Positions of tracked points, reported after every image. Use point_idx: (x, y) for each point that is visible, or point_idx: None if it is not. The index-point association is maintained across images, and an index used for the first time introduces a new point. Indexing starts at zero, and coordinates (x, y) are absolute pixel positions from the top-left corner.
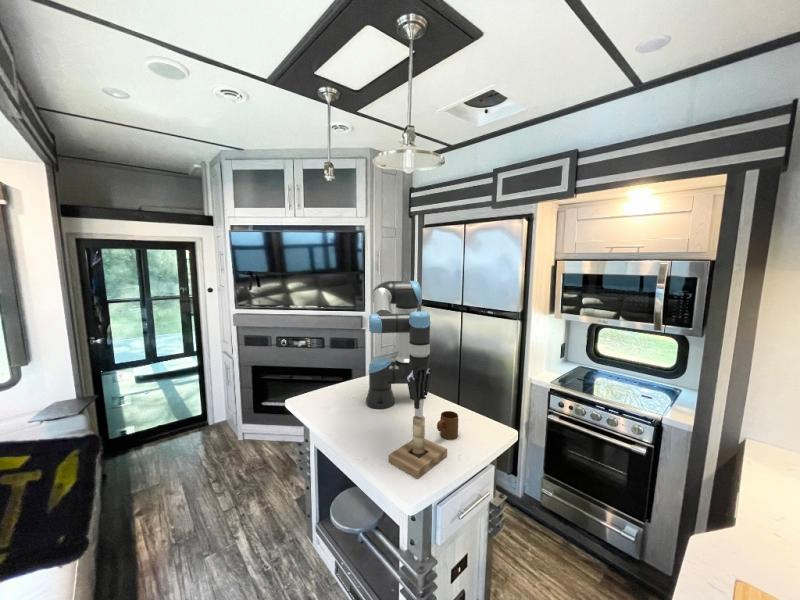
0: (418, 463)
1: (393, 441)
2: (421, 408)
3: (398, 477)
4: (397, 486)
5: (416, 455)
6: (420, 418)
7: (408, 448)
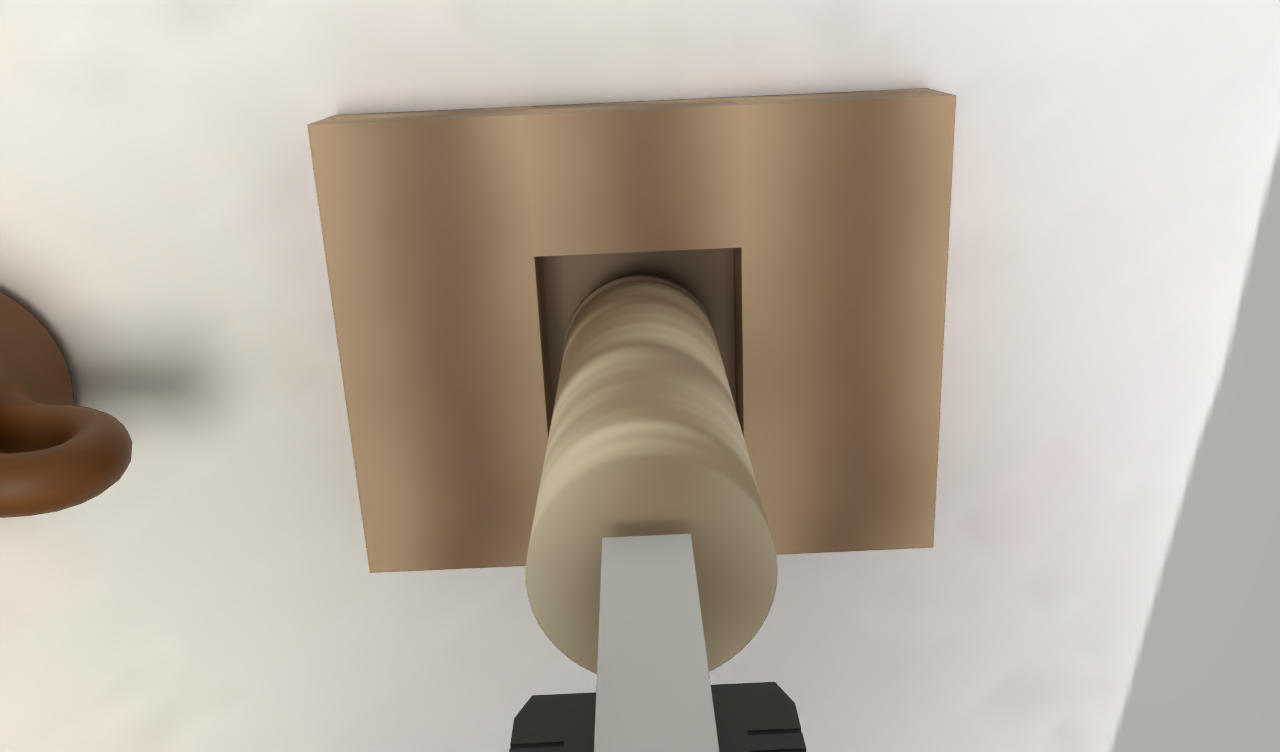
0: (832, 190)
1: None
2: (658, 646)
3: (1038, 261)
4: (1160, 167)
5: (711, 321)
6: None
7: None
